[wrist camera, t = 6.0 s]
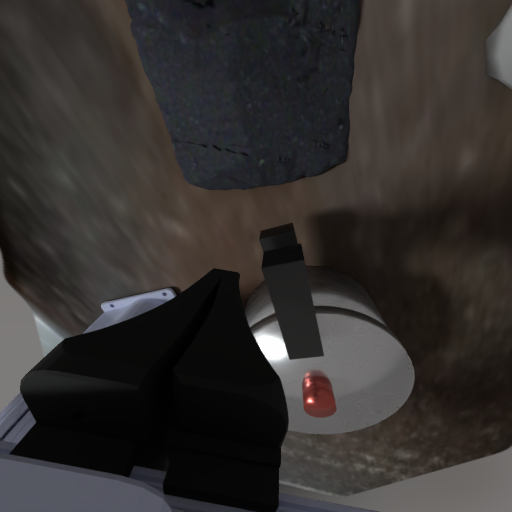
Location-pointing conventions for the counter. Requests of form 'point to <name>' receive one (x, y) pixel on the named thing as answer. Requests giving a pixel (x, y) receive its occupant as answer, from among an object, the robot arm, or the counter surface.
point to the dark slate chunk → (250, 85)
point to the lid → (328, 354)
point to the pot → (310, 283)
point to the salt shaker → (500, 51)
